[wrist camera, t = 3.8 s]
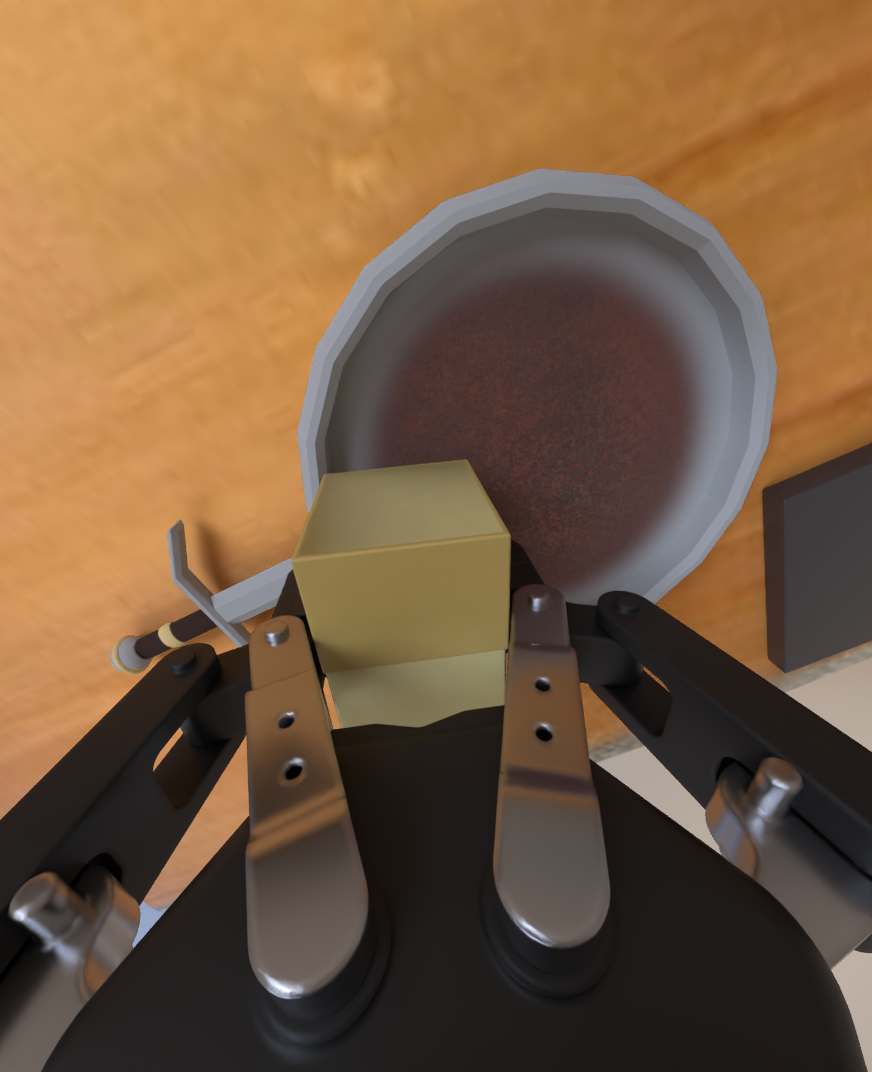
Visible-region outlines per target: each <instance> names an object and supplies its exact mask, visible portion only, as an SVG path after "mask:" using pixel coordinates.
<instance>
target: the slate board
mask: <svg viewBox="0 0 872 1072" xmlns="http://www.w3.org/2000/svg"><path fill="white" fill-rule="evenodd" d="M763 516H764V546H765V575H766V605H767V634H768V658H769V660H770V661H772V662H773V663H774V664H775V665H776V666H777V667H778V668H780V669H781V670H782V671H783V672H784V673H788V672H790V671H793V670H795V669H798V668H801V667H803V666H806V665H809V664H811V663H814V662H817V661H819V660H822V659H824V658H827V657H830V656H832V655H835V654H838V653H840V652H843V651H845V650H848V649H851V648H853V647H856V646H859V645H861V644H864V643H866V642H869V641H872V443H871V444H869V445H866V446H864V447H861V448H859V449H857V450H854V451H852V452H850V453H847V454H845V455H843V456H840V457H838V458H836V459H833V460H831V461H829V462H826V463H824V464H822V465H819V466H817V467H815V468H812V469H810V470H808V471H805V472H803V473H801V474H798V475H796V476H794V477H791V478H789V479H786V480H784V481H782V482H779V483H777V484H775V485H772V486H770V487H768V488H765V489H763Z"/></svg>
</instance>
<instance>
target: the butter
mask: <svg viewBox="0 0 872 1072" xmlns="http://www.w3.org/2000/svg"><path fill="white" fill-rule="evenodd" d="M291 564H292V567H293V571H294V574H295V578H296V581H297V585H298V588H299V592H300V595H301V599H302V602H303V606H304V609H305V613H306V616H307V620H308V623H309V627H310V630H311V634H312V637H313V641H314V644H315V648H316V651H317V655H318V658H319V662H320V665H321V669H322V672H323V673H324V674H326V675H327V679H328V682H329V686H330V689H331V693H332V697H333V700H334V704H335V707H336V711H337V714H338V718H339V721H340V725H341V728H348V727H355V726H362V725H369V724H385V725H397V726H408V727H423V726H426V725H429V724H431V723H434V722H436V721H439V720H441V719H444V718H447V717H449V716H452V715H454V714H457V713H459V712H462V711H466V710H473V709H480V708H487V707H494V706H501V705H505V692H506V649H508V648H509V617H510V564H511V534H510V533H509V531H508V529H507V527H506V526H505V524H504V522H503V521H502V519H501V517H500V515H499V514H498V512H497V510H496V508H495V507H494V505H493V503H492V502H491V500H490V498H489V496H488V495H487V493H486V491H485V490H484V488H483V486H482V484H481V483H480V481H479V479H478V477H477V476H476V474H475V472H474V471H473V469H472V467H471V465H470V464H469V462H468V460H466V459H465V460H455V461H446V462H436V463H427V464H417V465H408V466H398V467H389V468H379V469H370V470H360V471H351V472H341V473H332V474H325V475H323V478H322V480H321V483H320V486H319V488H318V491H317V493H316V496H315V499H314V501H313V504H312V507H311V509H310V512H309V514H308V517H307V520H306V522H305V525H304V527H303V530H302V533H301V535H300V538H299V541H298V543H297V546H296V548H295V551H294V554H293V556H292V559H291Z"/></svg>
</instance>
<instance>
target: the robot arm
mask: <svg viewBox="0 0 872 1072" xmlns="http://www.w3.org/2000/svg"><path fill="white" fill-rule="evenodd" d="M284 584H285V585H284V586H283V589H282V591H281V592H282V594H280V597H279V599H278V602H277V605H276V607H275V610H274V613H273V615H272V618H271V619H269V620H267V621H265V622H263V623H261V624H260V625H259V626H257V627H256V628H255V629H254V630H253V632H252V633H251V635H250V637H249V643H248V644H246V645H244V646H242V647H239V648H236V649H233V650H230V651H227V652H225V653H222V654H219V655H217V654H216V652H215V650H214V648H213V647H212V646H211V645H208V644H204V643H196V644H191V645H187V646H184V647H181V648H179V649H177V650H175V651H173V652H171V653H169V654H168V655H166V656H165V657H164V658H163V659H161V660H160V661H159V662H158V663H157V664H156V665H155V666H154V667H153V668H152V669H151V670H150V671H149V672H148V673H147V674H146V675H145V676H144V677H143V678H142V679H141V680H140V681H139V682H138V683H137V684H136V685H135V686H134V687H133V688H132V689H131V690H130V691H129V692H128V693H127V694H126V695H125V696H124V697H123V698H122V699H121V700H120V701H119V702H118V703H117V704H116V705H115V706H114V707H113V708H112V709H111V710H110V711H109V712H108V713H107V714H106V715H105V716H104V717H103V718H102V719H101V720H100V721H99V722H98V723H97V724H96V725H95V726H94V727H93V728H92V729H91V730H90V731H89V732H88V733H87V734H86V735H85V736H84V737H83V738H82V739H81V740H80V741H79V742H78V743H77V744H76V745H75V746H74V747H73V748H72V749H71V750H70V751H69V752H68V753H67V754H66V755H65V756H64V757H63V758H62V759H61V760H60V761H59V762H58V763H57V764H56V765H55V766H54V767H53V768H52V769H51V770H50V771H49V772H48V773H47V774H46V775H45V776H44V777H43V778H42V779H41V780H40V781H39V782H38V783H37V784H36V785H35V786H34V787H33V788H32V789H31V790H30V791H29V792H28V793H27V794H26V795H25V796H24V797H23V798H22V799H21V800H20V801H19V802H18V803H17V804H16V805H15V806H14V807H13V808H12V809H11V810H10V811H9V812H8V813H7V814H6V815H5V816H4V817H3V818H2V819H1V820H0V1072H868V1071H867V1068H866V1065H865V1061H864V1058H863V1054H862V1051H861V1047H860V1043H859V1040H858V1036H857V1033H856V1030H855V1026H854V1023H853V1020H852V1017H851V1013H850V1010H849V1008H848V1005H847V1003H846V1001H845V998H844V996H843V994H842V991H841V989H840V986H839V984H838V983H837V981H836V979H835V977H834V975H833V973H832V971H831V970H832V969H833V968H834V967H835V966H836V965H837V964H838V963H839V962H841V961H842V960H843V959H844V958H845V957H846V956H847V955H848V954H849V953H851V952H852V951H853V950H856V951H859V952H864V953H872V752H871V751H869V750H868V749H866V748H865V747H864V746H862V745H861V744H859V743H858V742H856V741H855V740H853V739H851V738H850V737H849V736H847V735H846V734H844V733H843V732H841V731H840V730H838V729H837V728H836V727H834V726H833V725H831V724H830V723H828V722H827V721H825V720H824V719H822V718H821V717H819V716H818V715H817V714H815V713H814V712H812V711H811V710H809V709H808V708H806V707H805V706H803V705H802V704H800V703H799V702H797V701H796V700H795V699H793V698H792V697H790V696H789V695H787V694H786V693H784V692H783V691H781V690H780V689H778V688H777V687H775V686H774V685H772V684H771V683H770V682H768V681H767V680H765V679H764V678H762V677H761V676H759V675H758V674H756V673H755V672H753V671H752V670H750V669H749V668H747V667H746V666H745V665H743V664H742V663H740V662H739V661H737V660H736V659H734V658H733V657H731V656H730V655H728V654H727V653H725V652H724V651H722V650H721V649H720V648H718V647H717V646H715V645H714V644H712V643H711V642H709V641H708V640H706V639H705V638H703V637H702V636H700V635H699V634H697V633H696V632H695V631H693V630H692V629H690V628H689V627H687V626H686V625H684V624H683V623H681V622H680V621H678V620H677V619H675V618H674V617H673V616H671V615H670V614H668V613H667V612H665V611H664V610H662V609H661V608H659V607H658V606H656V605H655V604H653V603H652V602H650V601H649V600H648V599H646V598H644V597H643V596H640V595H638V594H635V593H632V592H628V591H610V592H606V593H604V594H603V595H601V596H600V597H599V599H598V603H597V606H596V605H585V604H575V603H570V602H567V601H565V598H564V596H563V595H562V593H561V592H559V591H558V590H556V589H555V588H553V587H550V586H547V585H545V584H544V582H543V580H542V579H541V577H540V575H539V574H538V572H537V570H536V569H535V567H534V565H533V564H532V563H531V560H530V559H529V557H528V556H527V554H526V552H525V550H524V549H523V547H522V546H521V545H520V544H518V543H517V542H515V541H514V540H512V539H511V564H510V617H509V648H508V649H506V653H508V663H507V678H506V692H505V705H501V706H494V707H487V708H480V709H473V710H466V711H462V712H459V713H457V714H454V715H452V716H449V717H447V718H444V719H441V720H439V721H436V722H434V723H431V724H429V725H426V726H423V727H408V726H397V725H385V724H369V725H362V726H355V727H348V728H341V729H333V725H332V721H331V718H330V714H329V710H328V706H327V702H326V698H325V695H324V691H323V687H324V680H325V677H327V675H326V674H324V673H323V672H322V669H321V665H320V662H319V658H318V655H317V651H316V648H315V644H314V641H313V637H312V634H311V630H310V627H309V623H308V620H307V616H306V613H305V609H304V606H303V602H302V599H301V595H300V592H299V588H298V585H297V581H296V578H295V574H294V571H293V569H292V570H291V571H290V572H289V573H288V575H287V578H286V581H285V583H284ZM644 666H645V667H646V668H647V669H648V670H649V671H650V672H652V673H653V674H654V675H655V676H656V677H657V678H659V679H660V680H661V681H662V682H663V683H664V684H665V685H666V687H667V688H668V690H669V692H670V693H669V692H668V691H667V690H666V689H665V688H663V687H662V686H661V685H660V684H659V683H658V682H656V681H655V680H654V679H653V678H652V677H651V676H650V675H648V674H647V673H646V672H645V671H644V670H643V668H644ZM580 682H582V683H588V685H589V687H590V688H591V689H592V691H593V692H594V693H595V694H596V695H597V696H598V697H599V698H600V699H601V700H602V701H603V702H604V703H605V704H606V705H607V706H608V707H609V708H610V710H611V711H612V712H613V713H614V714H615V715H616V716H617V717H618V718H619V719H620V720H621V721H622V722H623V723H624V724H625V725H626V726H627V727H628V729H629V730H630V731H631V732H632V733H633V734H634V735H635V736H636V737H637V738H638V739H639V740H640V741H641V742H642V743H643V744H644V745H645V746H646V747H647V749H649V751H650V752H651V753H652V754H653V755H654V756H655V757H656V758H657V759H658V760H659V761H660V762H661V763H662V764H663V765H664V766H665V768H666V769H667V770H668V771H669V772H670V773H671V774H672V775H673V776H674V777H675V778H676V779H677V780H678V781H679V782H680V783H681V784H682V785H683V787H684V788H685V789H686V790H687V791H688V792H689V793H690V794H691V795H692V796H693V797H694V798H695V799H696V800H697V801H698V802H699V803H700V804H701V806H702V807H703V808H704V809H705V810H706V812H705V816H706V822H707V826H708V828H709V831H710V833H711V835H712V837H713V838H714V840H715V841H716V843H717V844H718V845H719V849H720V852H721V855H722V856H721V855H720V854H719V853H717V852H716V851H715V850H713V849H712V848H710V847H709V846H708V845H706V844H705V843H704V842H702V841H701V840H700V839H698V838H697V837H695V836H694V835H693V834H691V833H690V832H689V831H687V830H686V829H684V828H683V827H682V826H681V825H679V824H678V823H676V822H675V821H674V820H672V819H671V818H670V817H668V816H667V815H666V814H664V813H663V812H661V811H660V810H659V809H657V808H656V807H655V806H653V805H652V804H651V803H649V802H648V801H647V800H645V799H644V798H643V797H641V796H640V795H638V794H637V793H636V792H634V791H633V790H632V789H630V788H629V787H628V786H626V785H625V784H623V783H622V782H621V781H619V780H618V779H617V778H615V777H614V776H612V775H611V774H610V773H609V772H607V771H606V770H604V769H603V768H602V767H600V766H599V765H598V764H596V763H595V762H594V761H592V760H591V759H589V751H588V744H587V736H586V728H585V720H584V712H583V704H582V696H581V689H580ZM179 727H180V728H181V730H182V731H183V734H182V736H181V737H180V738H179V739H178V741H177V742H176V743H175V745H174V746H173V747H172V748H171V750H170V751H169V752H168V754H167V755H166V756H165V757H164V759H163V760H162V761H161V763H160V764H159V765H158V766H157V768H156V769H155V770H154V772H153V766H154V762H155V760H156V758H157V756H158V754H159V753H160V751H161V750H162V749H163V747H164V746H165V745H166V744H167V742H168V741H169V740H170V739H171V737H172V736H173V735H174V734H175V732H176V731H177V730H178V729H179ZM245 736H246V739H247V764H248V790H249V816H248V817H247V818H246V820H245V821H244V822H243V823H242V824H241V825H240V827H239V828H238V829H237V830H236V831H235V832H234V833H233V835H232V836H231V837H230V838H229V839H228V840H227V841H226V843H225V844H224V845H223V846H222V847H221V848H220V850H219V851H218V852H217V853H216V854H215V855H214V856H213V858H212V859H211V860H210V861H209V862H208V863H207V864H206V866H205V867H204V868H203V869H202V870H201V871H200V873H199V874H198V875H197V876H196V877H195V878H194V879H193V881H192V882H191V883H190V884H189V885H188V886H187V887H186V889H185V890H184V891H183V892H182V893H181V894H180V896H179V897H178V898H177V899H176V900H175V901H174V902H173V904H172V905H171V906H170V907H169V908H168V909H167V910H166V912H165V913H164V914H163V915H162V916H161V918H160V919H159V920H158V921H157V922H156V923H155V924H154V925H153V927H152V928H151V929H150V930H149V931H148V932H147V934H146V935H145V936H144V937H143V938H142V939H141V941H140V942H139V943H138V944H137V945H136V946H135V947H134V948H133V946H132V944H133V942H134V939H135V936H136V934H137V931H138V928H139V923H140V908H139V906H140V904H141V903H142V901H143V900H144V898H145V896H146V895H147V893H148V892H149V890H150V888H151V887H152V885H153V884H154V882H155V880H156V879H157V877H158V876H159V874H160V872H161V871H162V869H163V868H164V866H165V864H166V863H167V861H168V860H169V858H170V856H171V855H172V853H173V852H174V850H175V848H176V847H177V845H178V844H179V842H180V840H181V839H182V837H183V836H184V834H185V832H186V831H187V829H188V828H189V826H190V824H191V823H192V821H193V820H194V818H195V816H196V815H197V813H198V812H199V810H200V808H201V807H202V805H203V804H204V802H205V800H206V799H207V797H208V796H209V794H210V792H211V791H212V789H213V788H214V786H215V784H216V783H217V781H218V780H219V778H220V776H221V775H222V773H223V772H224V770H225V769H226V767H227V765H228V764H229V762H230V761H231V759H232V757H233V756H234V754H235V753H236V751H237V749H238V748H239V746H240V745H241V743H242V741H243V740H244V738H245Z"/></svg>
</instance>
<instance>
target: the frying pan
mask: <svg viewBox="0 0 872 1072" xmlns="http://www.w3.org/2000/svg"><path fill="white" fill-rule="evenodd" d="M776 378H777V366H776V361H775V356H774V351H773V347H772V342H771V337H770V332H769V327H768V322H767V318H766V313H765V308H764V303H763V298H762V295H761V294H760V292H759V291H758V289H757V288H756V286H755V285H754V283H753V282H752V280H751V279H750V277H749V276H748V275H747V273H746V272H745V270H744V269H743V267H742V266H741V264H740V263H739V261H738V260H737V258H736V257H735V255H734V254H733V253H732V251H731V250H730V248H729V247H728V245H727V244H726V242H725V241H724V239H723V238H722V236H721V235H720V233H719V232H718V230H717V229H716V228H715V227H714V226H713V225H712V224H711V223H710V222H709V221H708V220H707V219H705V218H704V217H702V216H700V215H698V214H697V213H695V212H693V211H692V210H690V209H688V208H687V207H685V206H683V205H681V204H680V203H678V202H676V201H675V200H673V199H671V198H670V197H668V196H666V195H664V194H663V193H661V192H659V191H658V190H656V189H654V188H653V187H651V186H649V185H647V184H646V183H644V182H642V181H641V180H639V179H637V178H636V177H634V176H622V175H611V174H599V173H587V172H576V171H564V170H552V169H541V168H540V169H537V170H534V171H531V172H528V173H525V174H522V175H519V176H516V177H513V178H510V179H507V180H504V181H501V182H498V183H495V184H492V185H489V186H486V187H483V188H480V189H477V190H474V191H471V192H468V193H465V194H462V195H459V196H456V197H453V198H451V199H448V200H445V201H443V202H442V203H440V204H439V205H438V206H437V207H436V208H434V209H433V210H432V211H431V212H430V213H428V214H427V215H426V216H425V217H424V218H422V219H421V220H420V221H419V222H418V223H416V224H415V225H414V226H413V227H412V228H410V229H409V230H408V231H407V232H405V233H404V234H403V235H402V236H401V237H399V238H398V239H397V240H396V241H395V242H393V243H392V244H391V245H390V246H389V247H387V248H386V249H385V250H384V251H383V252H381V253H380V254H379V255H378V256H377V257H375V258H374V259H373V260H372V261H371V262H369V263H368V264H367V265H366V266H365V267H364V268H363V270H362V272H361V273H360V275H359V277H358V278H357V280H356V282H355V283H354V285H353V287H352V288H351V290H350V292H349V294H348V295H347V297H346V299H345V300H344V302H343V304H342V305H341V307H340V309H339V310H338V312H337V314H336V315H335V317H334V319H333V320H332V322H331V324H330V325H329V327H328V329H327V330H326V332H325V334H324V335H323V337H322V339H321V340H320V342H319V344H318V345H317V347H316V349H315V352H314V357H313V362H312V366H311V371H310V376H309V381H308V385H307V390H306V395H305V399H304V404H303V409H302V414H301V418H300V423H299V428H298V433H297V436H298V444H299V452H300V461H301V469H302V477H303V485H304V493H305V501H306V509H307V511H308V513H309V512H310V509H311V507H312V504H313V501H314V499H315V496H316V493H317V491H318V488H319V486H320V483H321V480H322V478H323V475H325V474H332V473H341V472H351V471H360V470H370V469H379V468H389V467H398V466H408V465H417V464H427V463H436V462H446V461H455V460H465V459H466V460H468V462H469V464H470V465H471V467H472V469H473V471H474V472H475V474H476V476H477V477H478V479H479V481H480V483H481V484H482V486H483V488H484V490H485V491H486V493H487V495H488V496H489V498H490V500H491V502H492V503H493V505H494V507H495V508H496V510H497V512H498V514H499V515H500V517H501V519H502V521H503V522H504V524H505V526H506V527H507V529H508V531H509V533H510V534H511V539H512V540H514V541H515V542H517V543H518V544H520V545H521V546H522V547H523V549H524V550H525V552H526V554H527V556H528V557H529V559H530V560H531V563H532V564H533V565H534V567H535V569H536V570H537V572H538V574H539V575H540V577H541V579H542V580H543V582H544V584H545V585H547V586H550V587H553V588H555V589H556V590H558V591H559V592H561V593H562V595H563V596H564V598H565V601H567V602H570V603H575V604H585V605H596V606H597V603H598V599H599V597H600V596H601V595H603V594H604V593H606V592H610V591H628V592H632V593H635V594H638V595H640V596H643V597H644V598H646V599H648V600H649V601H650V602H652V603H653V604H655V603H656V602H657V601H658V600H659V599H661V598H662V597H663V596H664V595H665V594H666V593H667V592H669V591H670V590H671V589H672V588H673V587H674V586H675V585H677V584H678V583H679V582H680V581H681V580H682V579H683V578H685V577H686V576H687V575H688V574H689V573H690V572H692V571H693V570H694V569H695V568H696V567H697V566H698V565H700V564H701V563H702V561H703V560H704V559H705V557H706V556H707V555H708V553H709V552H710V551H711V549H712V548H713V546H714V545H715V544H716V542H717V541H718V540H719V538H720V537H721V536H722V534H723V533H724V532H725V530H726V529H727V527H728V526H729V525H730V523H731V522H732V521H733V519H734V518H735V517H736V515H737V514H738V512H739V511H740V510H741V508H742V506H743V503H744V501H745V499H746V496H747V494H748V491H749V489H750V487H751V484H752V482H753V479H754V477H755V475H756V472H757V470H758V467H759V465H760V463H761V460H762V458H763V456H764V453H765V451H766V448H767V446H768V443H769V435H770V427H771V419H772V411H773V403H774V395H775V387H776ZM167 536H168V546H169V555H170V564H171V573H172V580H173V582H174V583H175V584H176V585H177V586H178V587H179V588H180V589H181V590H182V591H183V592H184V593H185V594H186V595H187V596H188V597H189V598H190V599H191V600H192V601H193V602H194V603H195V604H196V605H197V606H198V607H199V608H200V610H198V611H196V612H194V613H192V614H190V615H188V616H186V617H184V618H181V619H179V620H177V621H175V622H170V623H166V624H164V625H163V626H161V627H160V628H159V630H157V631H154V632H152V633H150V634H148V635H146V636H144V637H141V636H134V635H128V636H124V637H122V638H120V639H119V640H118V641H117V642H116V643H115V645H114V647H113V650H112V652H111V656H110V658H111V663H112V665H113V666H114V667H115V668H116V669H117V670H119V671H121V672H125V673H129V674H138V673H141V672H143V671H144V670H145V669H146V668H147V667H148V666H149V664H150V662H151V661H152V659H153V657H154V656H156V655H158V654H160V653H162V652H164V651H167V650H169V649H171V648H175V647H180V646H182V645H184V644H185V643H186V642H187V641H188V640H190V639H192V638H194V637H196V636H198V635H200V634H203V633H205V632H207V631H209V630H211V629H213V628H215V627H217V626H218V627H219V628H220V629H221V630H222V631H223V632H224V633H225V634H226V635H227V636H228V637H229V638H230V639H231V640H232V641H233V642H234V643H235V644H236V645H237V646H238V647H242V646H244V645H246V644H248V643H249V637H250V635H251V634H250V633H249V632H248V631H247V630H246V629H245V628H244V626H243V625H242V624H241V622H243V621H245V620H247V619H250V618H252V617H254V616H256V615H258V614H260V613H262V612H264V611H267V610H269V609H271V608H273V607H275V606H276V605H277V602H278V599H279V597H280V594H282V592H281V591H282V589H283V586H284V585H285V584H284V583H285V581H286V578H287V575H288V573H289V572H290V571H291V570H292V569H293V567H292V564H291V559H292V557H291V558H289V559H287V560H285V561H283V562H281V563H279V564H277V565H275V566H273V567H271V568H268V569H266V570H264V571H262V572H260V573H258V574H256V575H254V576H252V577H250V578H248V579H246V580H244V581H242V582H240V583H237V584H235V585H233V586H231V587H229V588H227V589H225V590H223V591H221V592H219V593H217V594H215V595H213V594H212V593H211V592H210V591H209V590H208V589H207V588H206V587H205V586H204V584H203V583H202V582H201V581H200V580H199V579H198V578H197V577H196V576H195V575H194V574H193V573H192V572H191V571H190V570H189V569H188V564H187V553H186V543H185V532H184V524H183V523H182V521H181V520H179V521H177V522H176V523H175V524H174V525H173V526H172V527H171V528H170V529H169V530H168V532H167Z"/></svg>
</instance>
